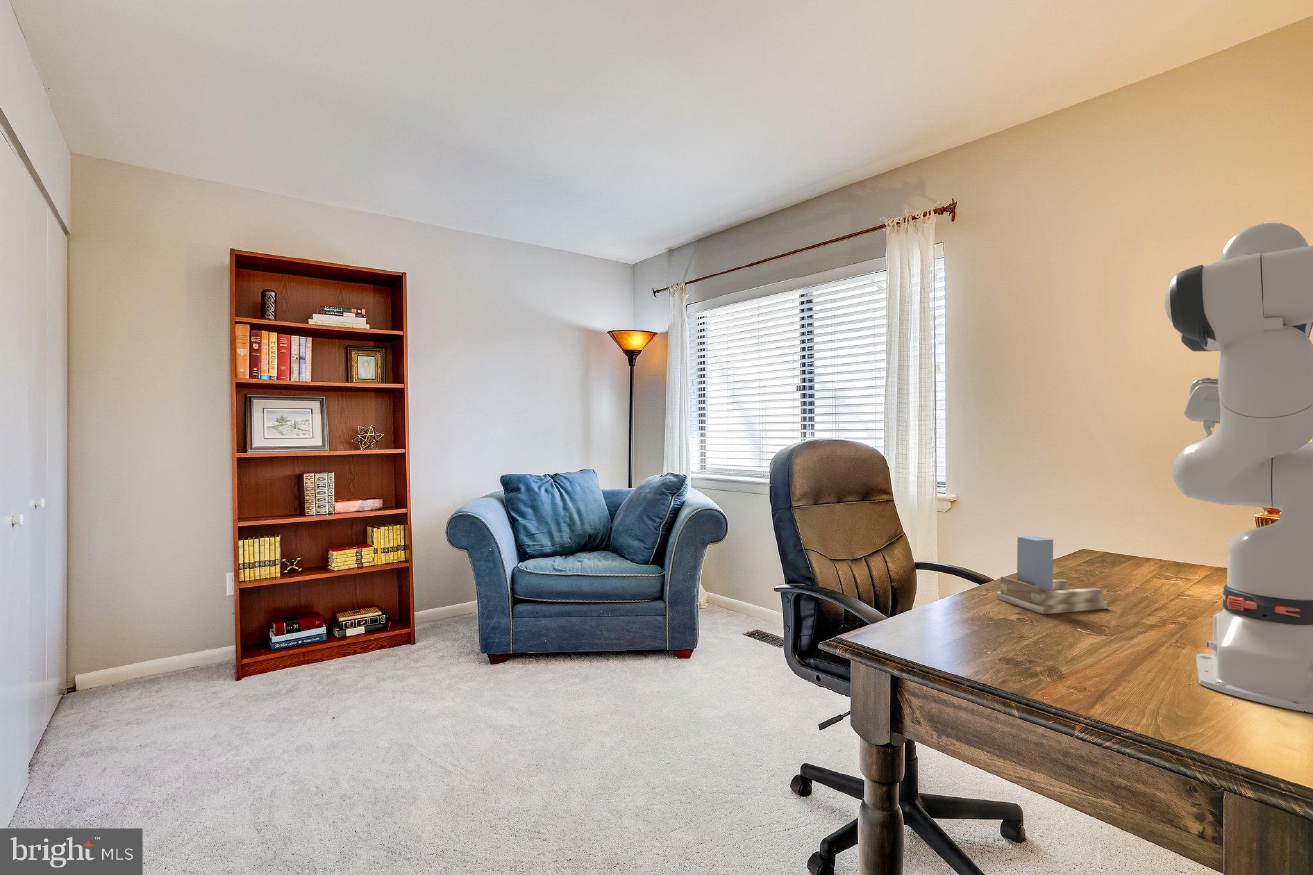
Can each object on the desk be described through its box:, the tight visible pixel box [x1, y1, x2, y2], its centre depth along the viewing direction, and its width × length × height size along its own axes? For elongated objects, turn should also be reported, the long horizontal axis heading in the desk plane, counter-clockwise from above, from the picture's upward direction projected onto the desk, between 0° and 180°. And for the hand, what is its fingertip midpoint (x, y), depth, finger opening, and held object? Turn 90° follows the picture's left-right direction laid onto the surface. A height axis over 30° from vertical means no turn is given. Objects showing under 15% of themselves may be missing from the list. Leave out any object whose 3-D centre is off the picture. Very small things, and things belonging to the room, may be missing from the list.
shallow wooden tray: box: [995, 576, 1108, 615], centre depth 145 cm, size 18×13×6 cm
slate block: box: [1016, 535, 1054, 592], centre depth 144 cm, size 5×5×14 cm
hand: (1241, 447), depth 124 cm, fingers open, 8 cm apart
